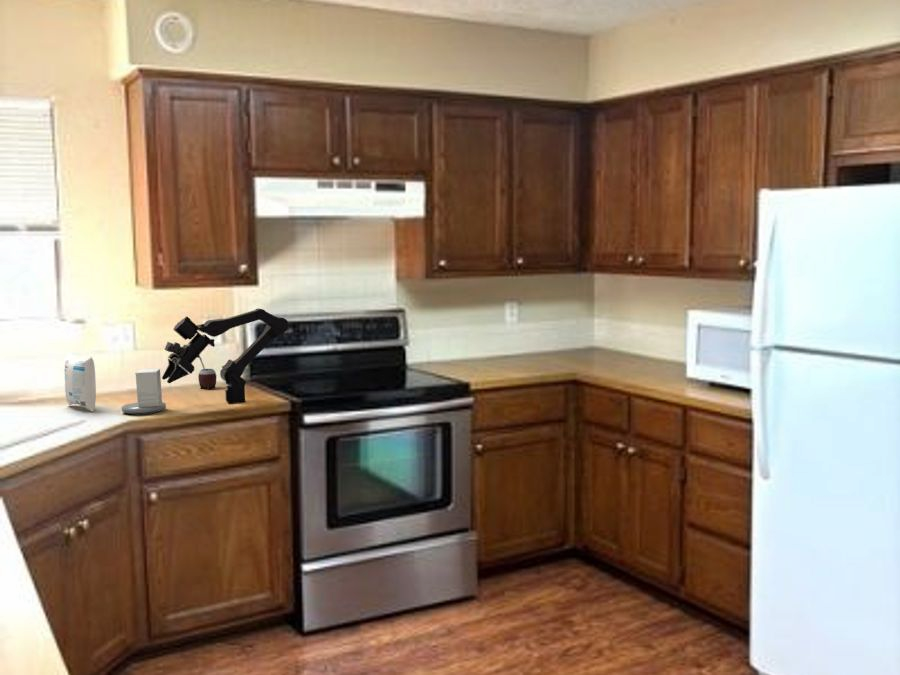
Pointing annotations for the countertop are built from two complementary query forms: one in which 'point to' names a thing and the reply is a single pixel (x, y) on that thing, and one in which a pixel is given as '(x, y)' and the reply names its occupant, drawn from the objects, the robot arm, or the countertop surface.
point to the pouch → (80, 381)
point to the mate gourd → (207, 378)
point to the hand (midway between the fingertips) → (165, 380)
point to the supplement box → (148, 387)
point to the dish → (142, 408)
